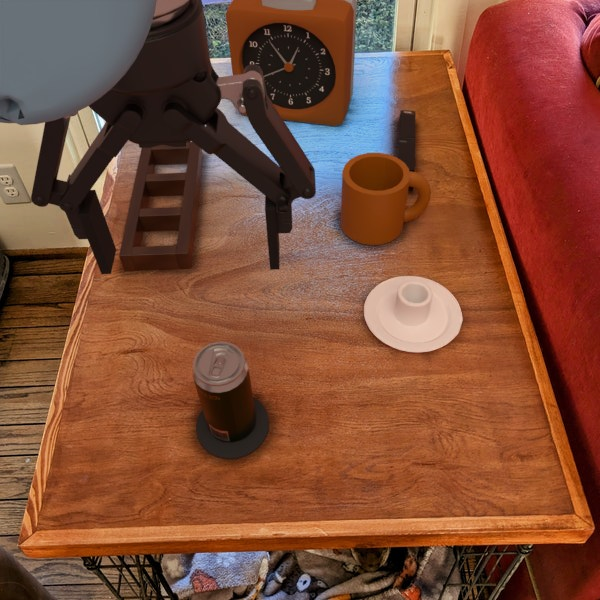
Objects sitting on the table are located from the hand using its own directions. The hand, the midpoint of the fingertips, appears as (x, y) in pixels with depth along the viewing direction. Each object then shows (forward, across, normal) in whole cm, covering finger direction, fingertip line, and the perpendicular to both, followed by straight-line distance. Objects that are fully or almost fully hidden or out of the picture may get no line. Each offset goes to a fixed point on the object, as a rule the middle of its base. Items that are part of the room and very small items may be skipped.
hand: (192, 260), depth 51 cm
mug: (+24, -21, -29) cm, 43 cm away
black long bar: (+24, -26, -44) cm, 56 cm away
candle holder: (+25, -22, -12) cm, 36 cm away
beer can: (+24, -1, +2) cm, 24 cm away
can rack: (+24, +10, -33) cm, 43 cm away
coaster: (+24, -1, +2) cm, 25 cm away
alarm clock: (+24, -9, -58) cm, 63 cm away
